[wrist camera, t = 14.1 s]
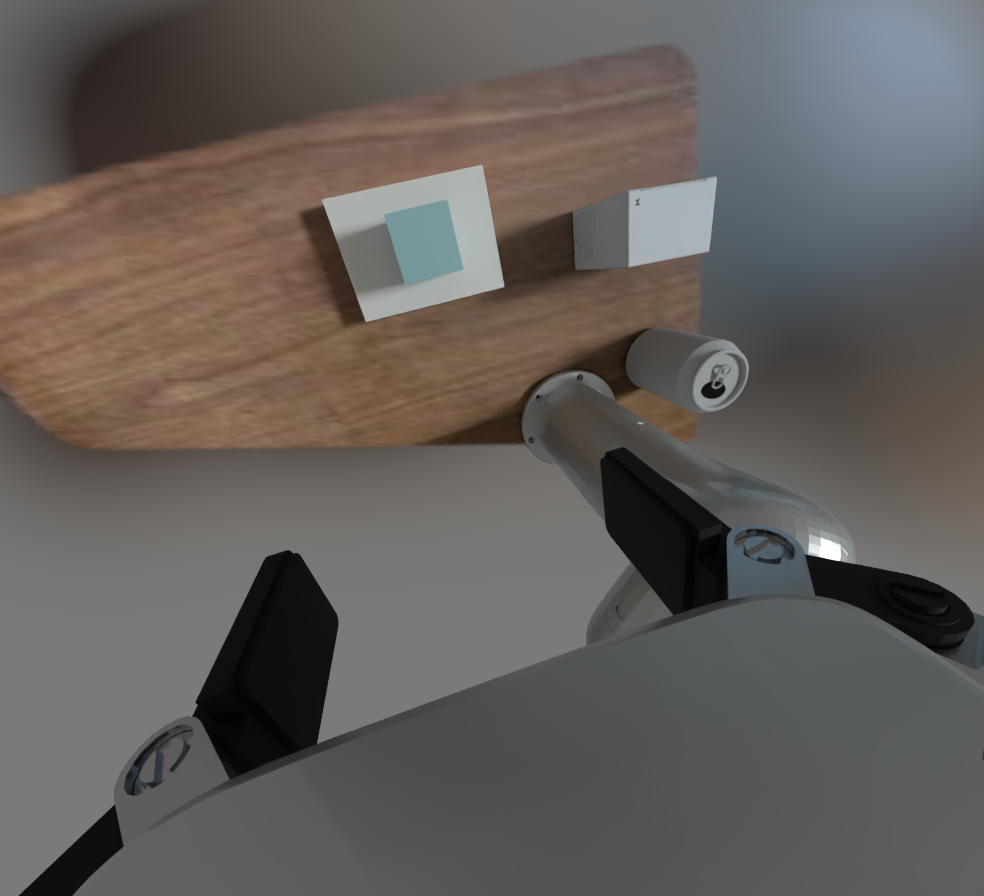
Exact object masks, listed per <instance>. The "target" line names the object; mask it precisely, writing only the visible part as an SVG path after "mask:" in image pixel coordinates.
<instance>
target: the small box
mask: <svg viewBox="0 0 984 896" xmlns="http://www.w3.org/2000/svg"><path fill="white" fill-rule="evenodd" d="M716 182H717V177H716V176H713V177H709V178H705V179H700V180H694V181H689V182H683V183H677V184H670V185H664V186H658V187H651V188H643V189H634V190H627V191H625V192H622V193H620V194H617V195H614V196H612V197H609V198H606V199H603V200H601V201H598V202H595V203H593V204H590V205H588V206H585V207H582V208H580V209H577V210H575V211H573V232H574V253H575V270H595V269H619V268H632V267H638V266H643V265H648V264H653V263H658V262H664V261H669V260H674V259H679V258H684V257H689V256H694V255H699V254H704V253H708V252H709V246H710V238H711V229H712V219H713V210H714V201H715V191H716Z"/></svg>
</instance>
